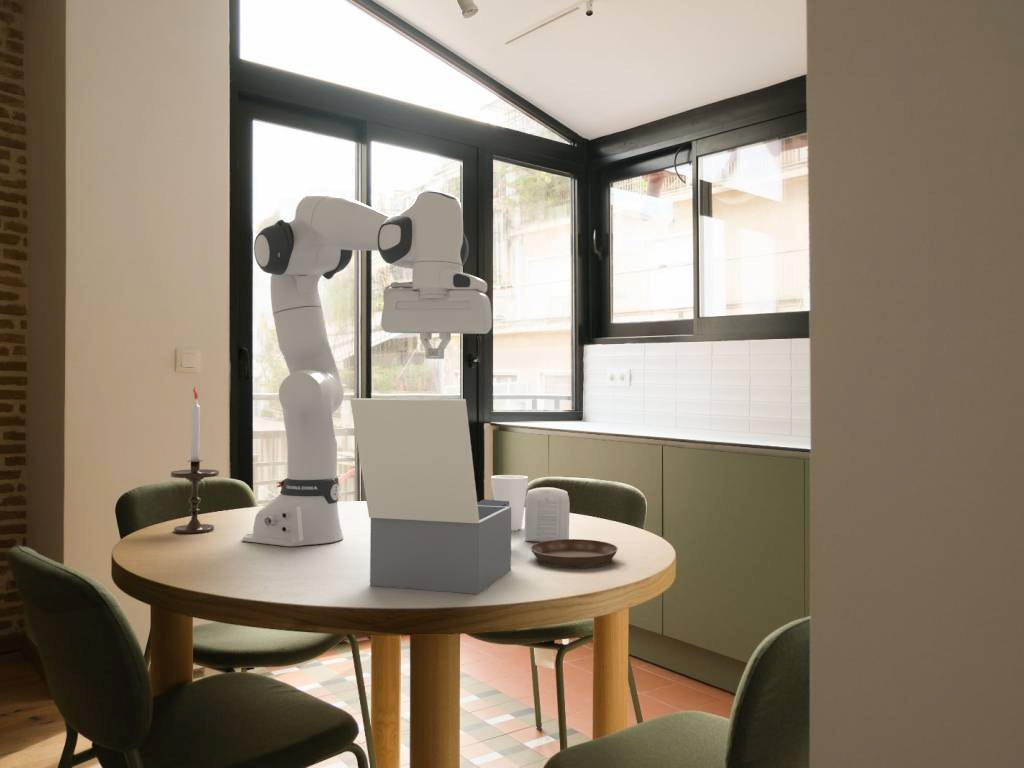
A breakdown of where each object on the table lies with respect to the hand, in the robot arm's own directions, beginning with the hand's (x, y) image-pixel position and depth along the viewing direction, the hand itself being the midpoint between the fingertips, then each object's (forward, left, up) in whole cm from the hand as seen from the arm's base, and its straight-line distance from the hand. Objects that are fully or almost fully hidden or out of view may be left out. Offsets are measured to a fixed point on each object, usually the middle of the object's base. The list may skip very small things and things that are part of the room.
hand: (434, 358), depth 142 cm
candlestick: (-75, +33, -40) cm, 91 cm away
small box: (+1, +31, -40) cm, 51 cm away
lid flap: (0, -9, -17) cm, 20 cm away
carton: (0, +5, -40) cm, 40 cm away
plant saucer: (+20, +27, -41) cm, 53 cm away
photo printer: (+10, +46, -40) cm, 62 cm away
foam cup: (-3, +60, -40) cm, 72 cm away
